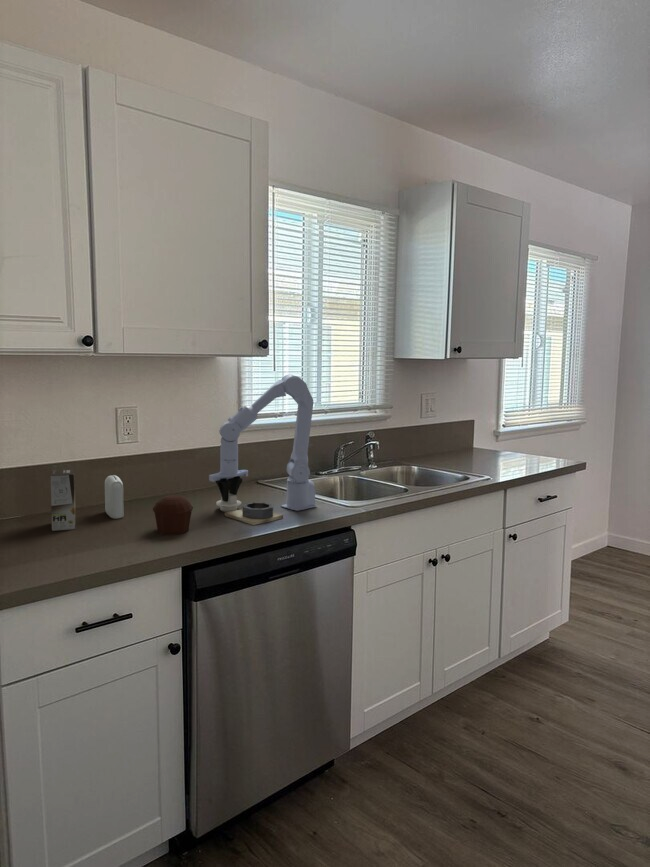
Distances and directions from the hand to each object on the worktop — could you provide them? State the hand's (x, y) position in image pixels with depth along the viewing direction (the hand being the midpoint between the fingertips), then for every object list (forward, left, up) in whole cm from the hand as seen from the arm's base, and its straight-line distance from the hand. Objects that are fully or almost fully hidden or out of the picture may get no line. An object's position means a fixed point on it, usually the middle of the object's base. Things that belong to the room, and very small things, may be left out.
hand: (228, 500), depth 214 cm
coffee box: (+48, -15, -3) cm, 51 cm away
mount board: (0, +13, -3) cm, 13 cm away
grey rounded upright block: (+31, -17, -3) cm, 36 cm away
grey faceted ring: (0, +15, -3) cm, 15 cm away
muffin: (+27, +9, -3) cm, 28 cm away
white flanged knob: (0, 0, -3) cm, 3 cm away
